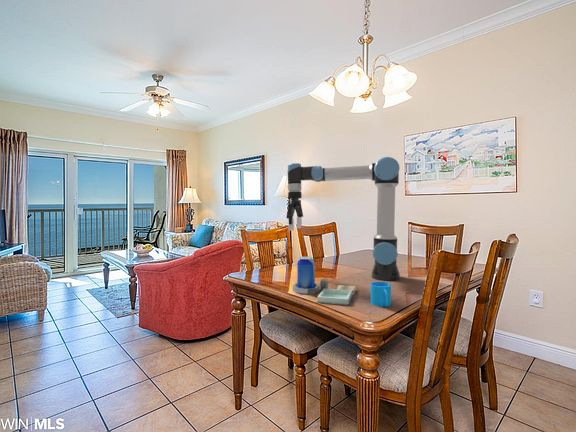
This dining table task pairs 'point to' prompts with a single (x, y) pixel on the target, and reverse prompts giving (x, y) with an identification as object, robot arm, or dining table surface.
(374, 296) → the mug
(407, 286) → the dining table surface
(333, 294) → the tray
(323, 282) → the dog
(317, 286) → the collar
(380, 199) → the robot arm
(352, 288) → the plate
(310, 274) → the blue bottle
